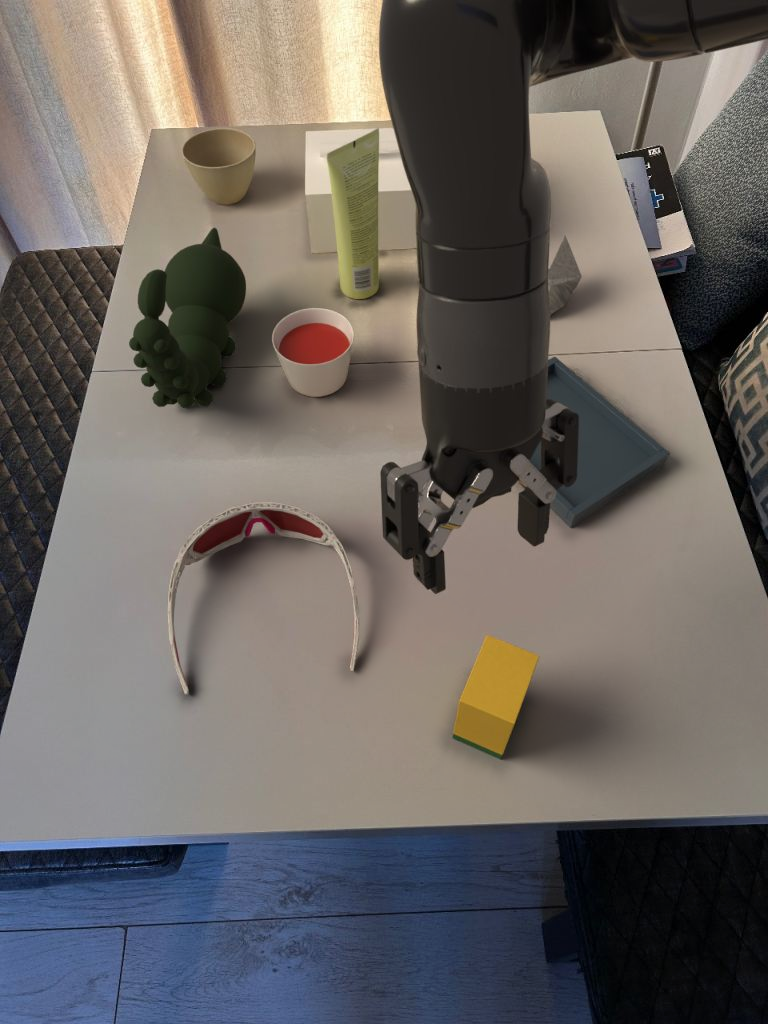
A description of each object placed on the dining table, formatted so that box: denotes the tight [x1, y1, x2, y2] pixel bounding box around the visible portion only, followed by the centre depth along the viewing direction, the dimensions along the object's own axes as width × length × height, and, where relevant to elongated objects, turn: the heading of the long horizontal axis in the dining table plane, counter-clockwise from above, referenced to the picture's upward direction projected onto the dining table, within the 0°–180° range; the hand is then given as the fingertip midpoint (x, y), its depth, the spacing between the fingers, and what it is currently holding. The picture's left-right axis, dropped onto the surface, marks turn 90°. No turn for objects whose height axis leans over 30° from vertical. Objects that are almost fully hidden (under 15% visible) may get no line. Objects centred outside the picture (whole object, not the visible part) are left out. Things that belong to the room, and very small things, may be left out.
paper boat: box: [548, 234, 583, 315], centre depth 94 cm, size 12×6×9 cm
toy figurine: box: [128, 227, 247, 409], centre depth 84 cm, size 9×19×25 cm
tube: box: [327, 127, 380, 300], centre depth 90 cm, size 6×5×20 cm
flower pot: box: [181, 127, 257, 206], centre depth 107 cm, size 10×10×7 cm
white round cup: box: [271, 307, 355, 398], centre depth 87 cm, size 9×9×6 cm
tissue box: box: [304, 127, 417, 254], centre depth 102 cm, size 14×25×11 cm, turn 93°
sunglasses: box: [167, 501, 360, 695], centre depth 72 cm, size 17×17×5 cm
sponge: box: [452, 634, 540, 760], centre depth 62 cm, size 4×6×9 cm
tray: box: [530, 356, 671, 529], centre depth 82 cm, size 18×14×2 cm
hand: (483, 561), depth 54 cm, fingers open, 8 cm apart
